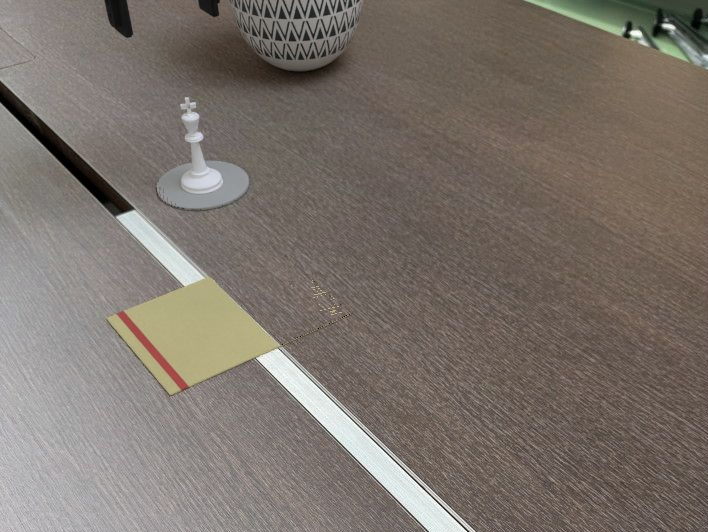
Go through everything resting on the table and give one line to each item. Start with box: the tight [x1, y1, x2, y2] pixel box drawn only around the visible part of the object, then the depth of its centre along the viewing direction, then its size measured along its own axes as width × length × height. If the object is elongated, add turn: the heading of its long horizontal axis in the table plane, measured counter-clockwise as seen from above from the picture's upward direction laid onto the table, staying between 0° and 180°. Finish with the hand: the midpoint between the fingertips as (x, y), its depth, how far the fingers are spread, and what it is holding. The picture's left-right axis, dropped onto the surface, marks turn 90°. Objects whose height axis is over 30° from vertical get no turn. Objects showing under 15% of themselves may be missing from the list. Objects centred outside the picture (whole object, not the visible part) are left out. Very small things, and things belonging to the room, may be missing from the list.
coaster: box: [155, 160, 250, 211], centre depth 100 cm, size 11×11×1 cm
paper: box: [105, 276, 353, 396], centre depth 84 cm, size 20×14×1 cm
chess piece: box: [179, 96, 223, 194], centre depth 96 cm, size 5×5×10 cm
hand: (167, 22), depth 86 cm, fingers open, 9 cm apart
